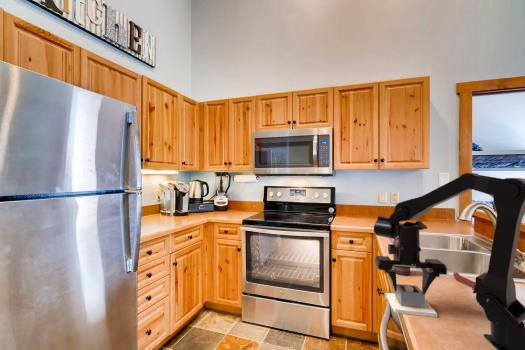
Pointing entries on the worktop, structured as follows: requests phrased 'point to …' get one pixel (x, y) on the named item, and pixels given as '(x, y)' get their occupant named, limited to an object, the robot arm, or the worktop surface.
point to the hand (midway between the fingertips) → (409, 292)
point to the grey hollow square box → (410, 296)
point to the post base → (410, 310)
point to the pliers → (465, 281)
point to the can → (400, 270)
